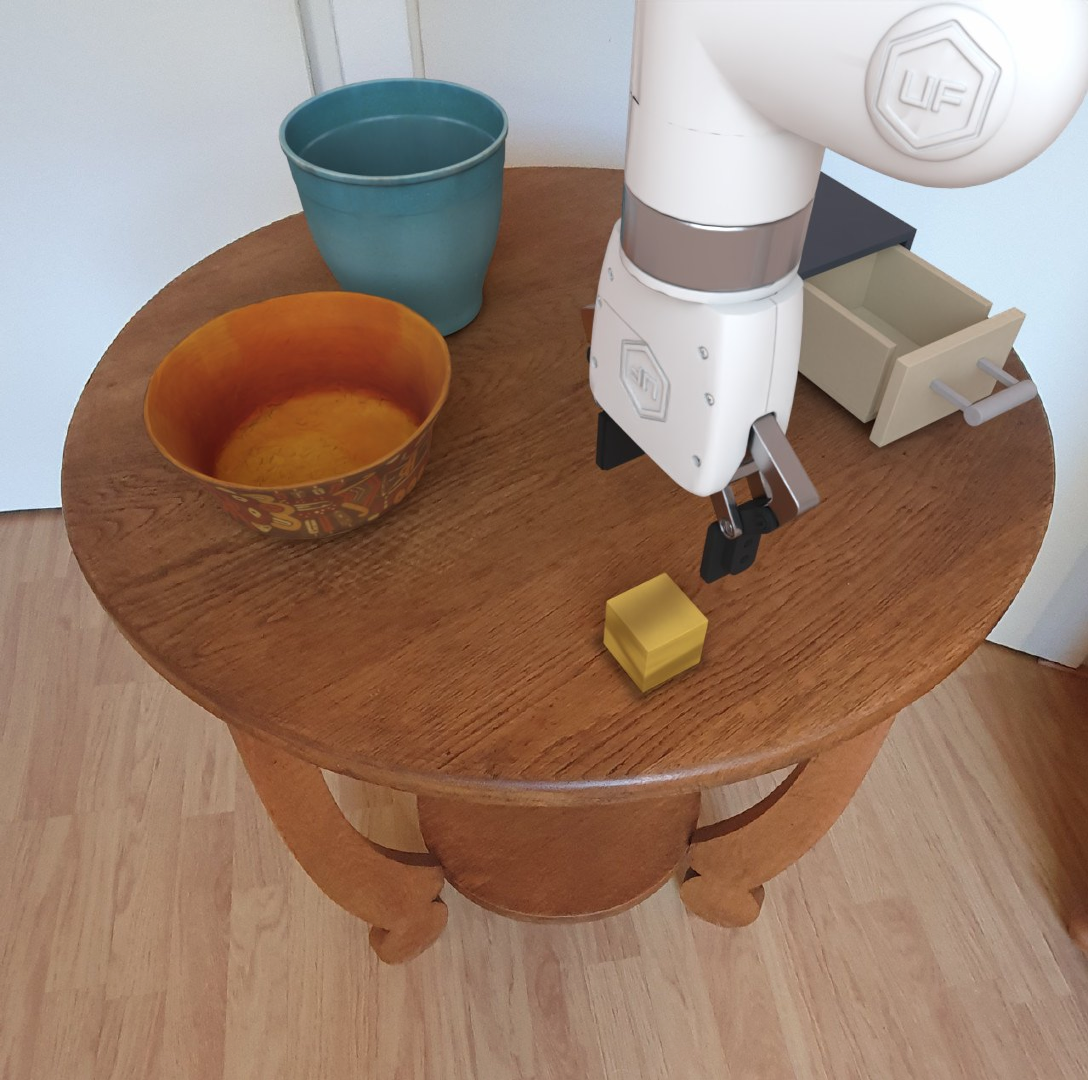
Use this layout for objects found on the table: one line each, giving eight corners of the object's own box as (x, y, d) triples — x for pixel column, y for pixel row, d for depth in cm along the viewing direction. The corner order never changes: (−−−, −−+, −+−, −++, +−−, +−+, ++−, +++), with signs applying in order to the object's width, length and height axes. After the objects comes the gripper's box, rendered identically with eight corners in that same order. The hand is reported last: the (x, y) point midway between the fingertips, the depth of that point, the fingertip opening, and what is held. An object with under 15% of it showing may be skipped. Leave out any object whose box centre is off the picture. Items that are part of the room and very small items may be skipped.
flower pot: (304, 270, 91) (265, 91, 78) (484, 240, 95) (474, 63, 82) (335, 383, 80) (294, 194, 67) (538, 343, 83) (537, 157, 70)
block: (699, 662, 61) (708, 620, 57) (642, 693, 59) (648, 651, 56) (659, 614, 63) (665, 571, 60) (602, 643, 62) (606, 600, 58)
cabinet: (886, 326, 85) (917, 229, 78) (769, 375, 80) (791, 276, 73) (772, 246, 94) (791, 153, 87) (661, 286, 89) (671, 191, 82)
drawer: (1040, 429, 74) (1082, 348, 68) (927, 487, 70) (962, 405, 64) (864, 307, 85) (888, 228, 80) (758, 350, 81) (774, 270, 75)
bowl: (161, 599, 64) (111, 496, 57) (202, 399, 78) (166, 295, 71) (469, 574, 66) (459, 470, 58) (455, 381, 80) (446, 278, 72)
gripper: (526, 158, 42) (530, 443, 55) (782, 364, 32) (714, 653, 45) (663, 119, 45) (636, 400, 57) (938, 299, 35) (832, 590, 48)
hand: (671, 511), depth 51 cm, fingers open, 9 cm apart
